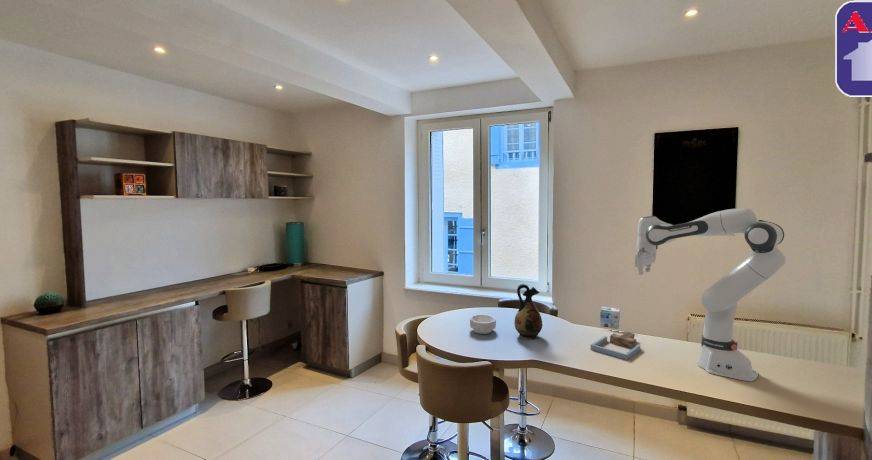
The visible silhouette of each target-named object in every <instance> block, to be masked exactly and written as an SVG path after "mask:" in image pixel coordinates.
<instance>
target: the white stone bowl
mask: <svg viewBox="0 0 872 460" xmlns="http://www.w3.org/2000/svg"><path fill="white" fill-rule="evenodd" d="M469 327H470V328H471V329H472V330H473V331H474V332H475V333H476V334H481V335H487V334H490V333H492V331H493V330H494V329H495V330H496V327H497V319H496V317H495V316H492V315H489V314H475V315H472V316H470V317H469Z"/></svg>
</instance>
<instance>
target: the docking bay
mask: <svg viewBox="0 0 872 460" xmlns="http://www.w3.org/2000/svg"><path fill="white" fill-rule="evenodd" d="M607 341H608V336H606V335H605V336H602V337H601V338H600V339H598V340H596V341H595V342H593V343H591V344H590V351H594V352H598V353H601V354H605V355H608V356H611V357H615V358H618V359H622V360H625V361H628V360H629V359H630V358H632V357H633V356H634V355H636V354H637V353H638V352H640V351H641V345H640V344H636V347H634V348H633V349H632V348H630V350H628V351H627V352H626V353H624V352H620V351H617V350H613V349H610V348H606V347H603V346H601V345H603V344H604V343H606V342H607Z"/></svg>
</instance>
